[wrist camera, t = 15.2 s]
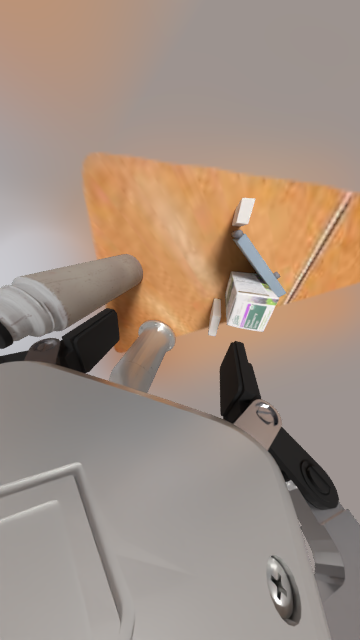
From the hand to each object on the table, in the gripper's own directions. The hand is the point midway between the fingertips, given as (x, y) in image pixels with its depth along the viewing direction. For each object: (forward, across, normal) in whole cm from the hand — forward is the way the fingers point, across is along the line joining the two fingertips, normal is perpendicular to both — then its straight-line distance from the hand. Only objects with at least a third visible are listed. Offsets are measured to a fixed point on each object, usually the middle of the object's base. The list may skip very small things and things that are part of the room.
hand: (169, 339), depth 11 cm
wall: (+26, -5, 0) cm, 26 cm away
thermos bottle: (+26, +19, +3) cm, 32 cm away
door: (+26, -10, -5) cm, 28 cm away
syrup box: (+26, -9, +1) cm, 28 cm away
